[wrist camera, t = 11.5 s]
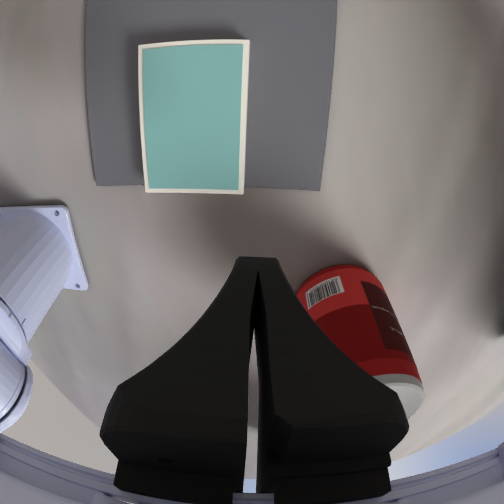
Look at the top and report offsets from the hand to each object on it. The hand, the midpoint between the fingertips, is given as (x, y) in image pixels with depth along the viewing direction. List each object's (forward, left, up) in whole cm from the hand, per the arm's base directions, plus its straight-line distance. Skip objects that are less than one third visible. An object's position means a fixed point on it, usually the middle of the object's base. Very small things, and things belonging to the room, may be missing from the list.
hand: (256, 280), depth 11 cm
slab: (-1, +4, -9) cm, 10 cm away
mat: (-4, +6, -10) cm, 13 cm away
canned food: (+7, -10, -11) cm, 16 cm away
